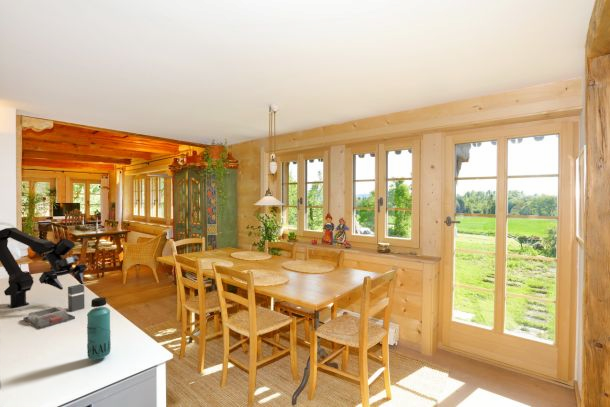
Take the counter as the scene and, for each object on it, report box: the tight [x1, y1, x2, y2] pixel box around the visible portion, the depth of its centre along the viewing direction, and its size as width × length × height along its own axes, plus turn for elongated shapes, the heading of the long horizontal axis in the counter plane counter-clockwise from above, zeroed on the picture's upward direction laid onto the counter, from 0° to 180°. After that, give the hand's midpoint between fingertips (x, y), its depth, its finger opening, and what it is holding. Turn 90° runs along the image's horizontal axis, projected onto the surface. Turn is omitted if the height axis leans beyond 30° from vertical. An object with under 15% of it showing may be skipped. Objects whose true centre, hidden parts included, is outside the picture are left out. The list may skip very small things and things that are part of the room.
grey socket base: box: [22, 306, 76, 330], centre depth 134 cm, size 18×12×3 cm, turn 59°
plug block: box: [67, 283, 85, 313], centre depth 147 cm, size 4×5×11 cm
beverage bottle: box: [86, 296, 112, 360], centre depth 101 cm, size 6×7×20 cm
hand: (72, 286), depth 147 cm, fingers open, 9 cm apart
